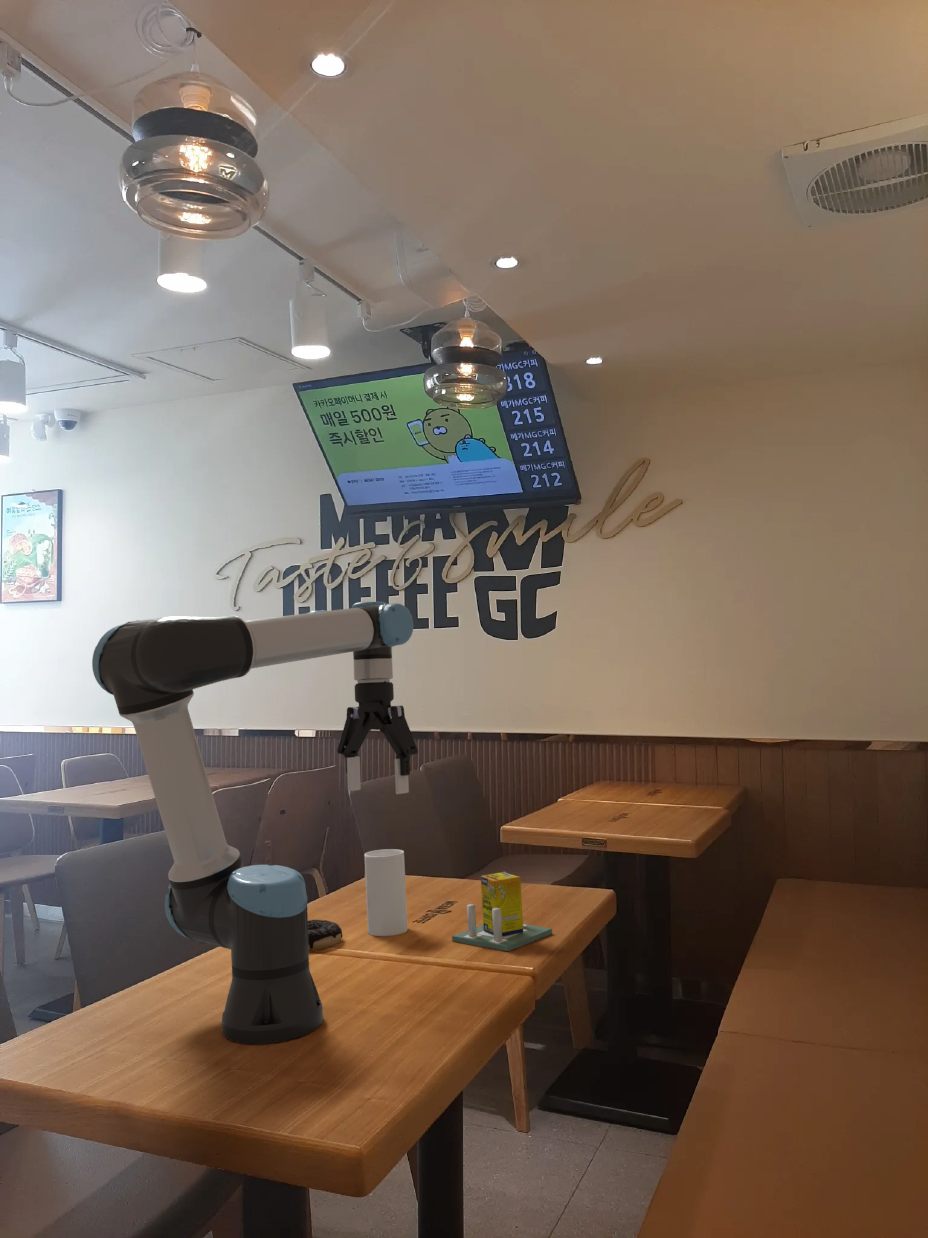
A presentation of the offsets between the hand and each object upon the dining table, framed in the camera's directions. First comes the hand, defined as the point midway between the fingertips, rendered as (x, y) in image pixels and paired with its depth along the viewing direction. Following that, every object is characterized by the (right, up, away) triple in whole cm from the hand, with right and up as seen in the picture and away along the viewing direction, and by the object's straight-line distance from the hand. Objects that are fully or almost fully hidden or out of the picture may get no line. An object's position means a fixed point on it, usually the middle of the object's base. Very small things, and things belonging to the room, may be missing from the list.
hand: (377, 792), depth 185 cm
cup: (+1, -31, +14) cm, 34 cm away
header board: (+24, -29, +4) cm, 38 cm away
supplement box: (+24, -28, +4) cm, 38 cm away
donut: (-13, -32, +7) cm, 35 cm away
